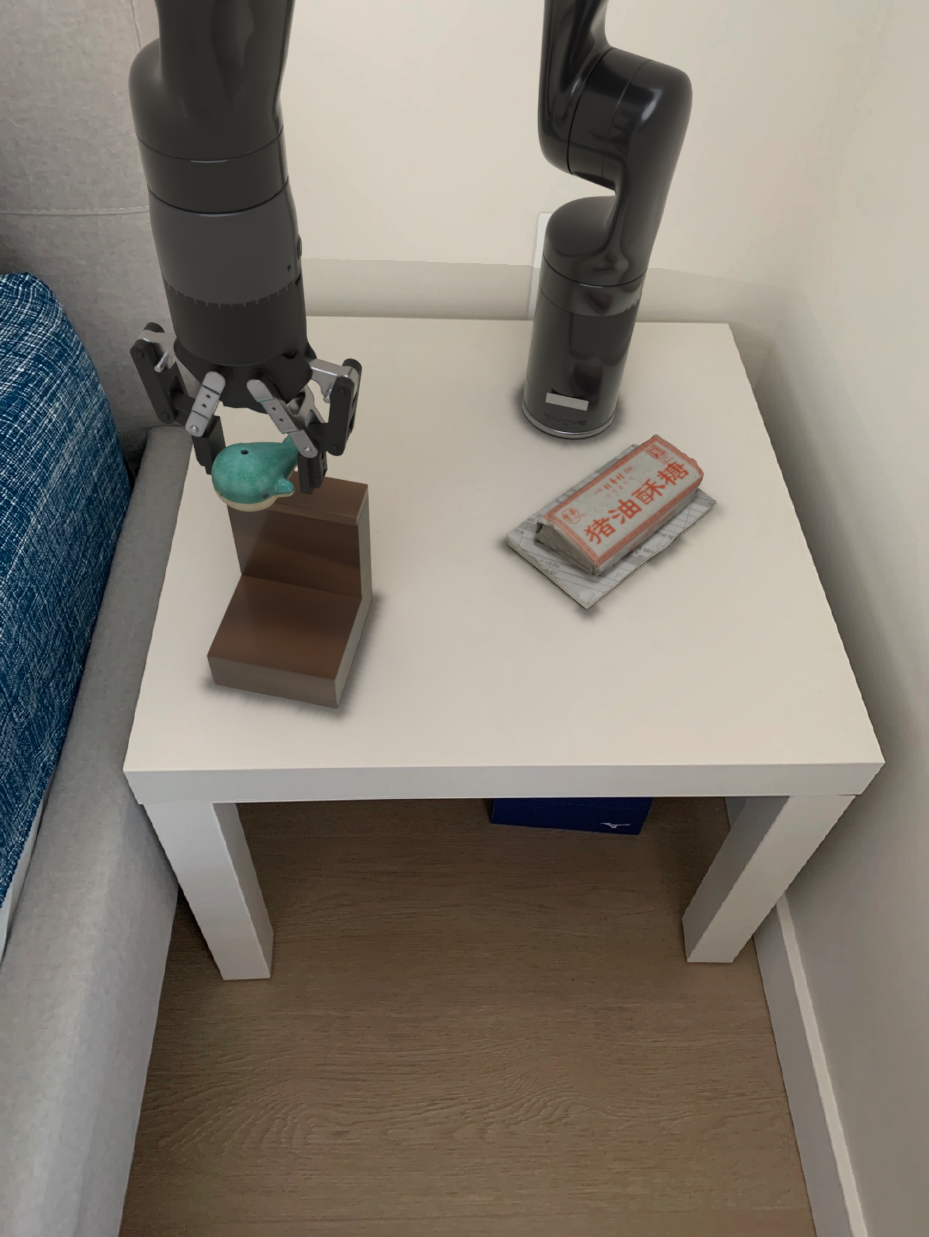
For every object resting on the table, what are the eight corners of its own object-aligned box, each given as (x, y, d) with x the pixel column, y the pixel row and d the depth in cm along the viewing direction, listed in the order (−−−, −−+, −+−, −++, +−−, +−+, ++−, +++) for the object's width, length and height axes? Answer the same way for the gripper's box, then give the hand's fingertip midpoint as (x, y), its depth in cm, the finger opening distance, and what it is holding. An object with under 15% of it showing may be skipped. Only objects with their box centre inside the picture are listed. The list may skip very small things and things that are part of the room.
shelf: (258, 577, 83) (236, 459, 72) (372, 599, 83) (368, 483, 71) (214, 683, 77) (182, 572, 66) (337, 708, 76) (326, 600, 65)
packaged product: (643, 414, 91) (728, 473, 87) (633, 452, 95) (714, 509, 91) (508, 509, 83) (595, 578, 79) (503, 546, 87) (586, 613, 83)
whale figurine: (196, 484, 66) (187, 443, 63) (283, 435, 69) (278, 394, 66) (248, 533, 64) (241, 493, 61) (335, 480, 67) (333, 439, 64)
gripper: (73, 273, 51) (141, 496, 65) (340, 320, 50) (352, 537, 63) (131, 197, 55) (183, 420, 69) (377, 239, 54) (381, 457, 68)
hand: (264, 475), depth 66 cm, fingers closed on whale figurine, 6 cm apart
